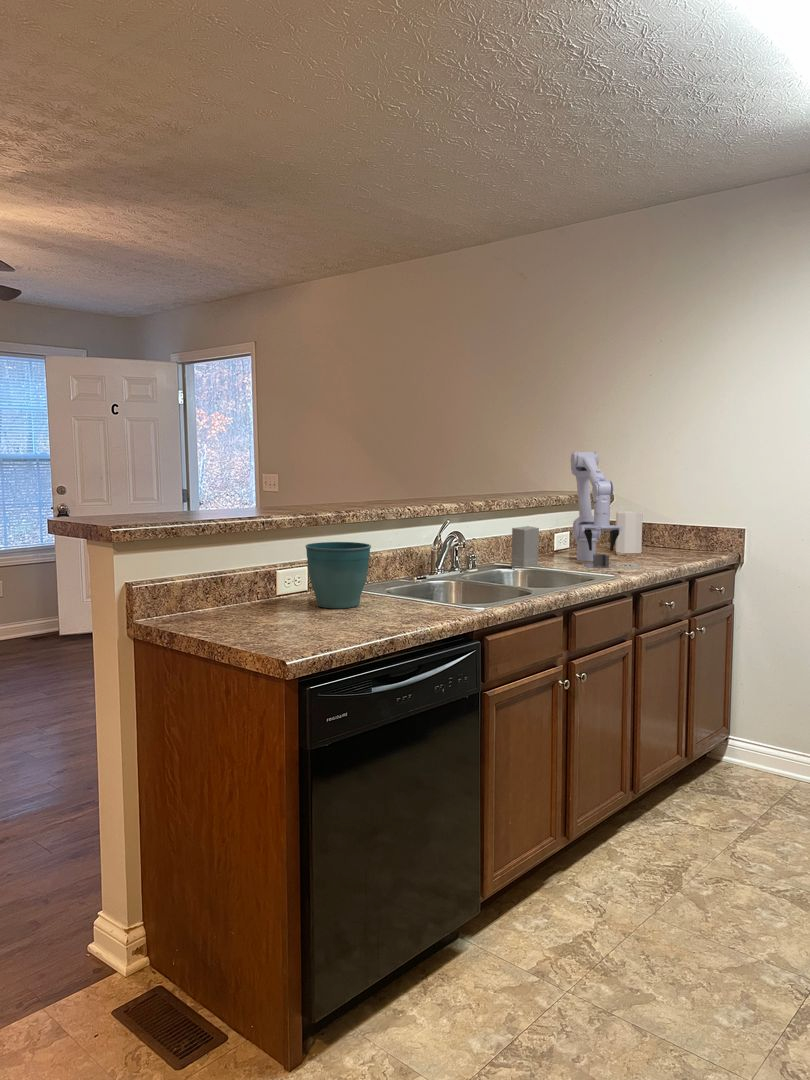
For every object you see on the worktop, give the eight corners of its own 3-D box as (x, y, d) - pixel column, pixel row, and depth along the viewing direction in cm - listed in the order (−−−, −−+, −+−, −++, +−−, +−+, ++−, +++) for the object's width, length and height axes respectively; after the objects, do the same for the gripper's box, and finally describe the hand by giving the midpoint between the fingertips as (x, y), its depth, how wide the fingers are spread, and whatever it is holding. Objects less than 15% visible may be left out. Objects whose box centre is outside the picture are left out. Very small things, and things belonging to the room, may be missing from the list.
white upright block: (644, 554, 347) (646, 511, 345) (637, 557, 337) (638, 513, 335) (619, 553, 352) (620, 510, 351) (611, 555, 343) (612, 512, 341)
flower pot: (383, 603, 227) (383, 543, 226) (347, 613, 212) (346, 549, 210) (331, 598, 236) (330, 540, 235) (292, 607, 221) (292, 546, 219)
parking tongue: (554, 566, 308) (554, 562, 308) (575, 566, 308) (575, 562, 307) (556, 568, 300) (556, 564, 300) (578, 569, 300) (578, 565, 299)
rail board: (581, 567, 305) (581, 562, 305) (635, 567, 304) (635, 563, 303) (586, 572, 292) (586, 567, 291) (643, 572, 290) (643, 568, 290)
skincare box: (525, 567, 304) (525, 525, 302) (539, 569, 298) (540, 527, 297) (509, 569, 298) (510, 527, 297) (524, 571, 293) (524, 528, 291)
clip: (593, 564, 300) (593, 554, 300) (606, 564, 300) (606, 554, 300) (594, 566, 296) (595, 555, 295) (608, 566, 295) (609, 555, 295)
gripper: (583, 514, 293) (582, 551, 294) (624, 514, 291) (622, 551, 293) (580, 513, 300) (580, 549, 301) (620, 513, 298) (619, 549, 300)
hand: (601, 550), depth 297 cm, fingers open, 7 cm apart
